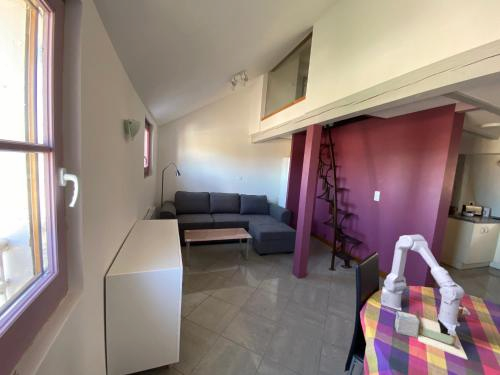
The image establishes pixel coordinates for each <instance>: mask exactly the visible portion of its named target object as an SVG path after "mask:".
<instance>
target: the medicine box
mask: <svg viewBox="0 0 500 375" xmlns="http://www.w3.org/2000/svg"><path fill="white" fill-rule="evenodd" d="M418 327H419V320H418V319H417V317H416V315H415V314H412V313H409V312H404V311H399V310H396V312H395V321H394V328H395V331H396V333H397V334H400V335H404V336H409V337H412V338H416V339H418V337H417V334H418Z"/></svg>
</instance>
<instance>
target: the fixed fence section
mask: <svg viewBox="0 0 500 375" xmlns="http://www.w3.org/2000/svg"><path fill="white" fill-rule="evenodd" d="M414 315H416V317H417V319H418V320H419V325H421V321H420V317H421V316H420V312H419V310H415V312H414Z"/></svg>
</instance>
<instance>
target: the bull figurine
mask: <svg viewBox="0 0 500 375" xmlns="http://www.w3.org/2000/svg"><path fill="white" fill-rule="evenodd" d="M439 312H440V306H438V312H437V314H438V315H437V317H438V316H439ZM463 315H468V316H471V312H470V311H469V309H467V307H465V306H462V307H461V306H459V310H458V315H457V321H456V322H458V320H459V318H460V317H461V316H463ZM458 323H459V322H458Z"/></svg>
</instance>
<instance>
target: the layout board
mask: <svg viewBox="0 0 500 375" xmlns="http://www.w3.org/2000/svg"><path fill="white" fill-rule="evenodd" d="M419 317H420V321H421V326H423V327H424V328H427V329H430V330H433V331H436V332H440V326H439V323H438V321H437V322H436V321H434V320H432V319H431V320H430V319H427V318H424V317H422V316H419ZM450 336H455V337H456V340H455V346H453V345H451V344H448V343H445V342H442V341H439V340H436V339H433V338H430V337H427V336H424V335H419V334H417V340H418V342H420V343H422V344H425V345H427V346H430V347H431V348H432V347H433V348H434V349H435V348H436V349H438V350H440V351H443V352H446V353H448V354H451V355H453V356H456V357H459V358H461V359H464V360H468V357H467V354H466V352H465V350H464V348H463V346H462V343H461V341H460V339H459V337H458V335H457V333H456V331H455V335H451V334H450Z"/></svg>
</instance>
